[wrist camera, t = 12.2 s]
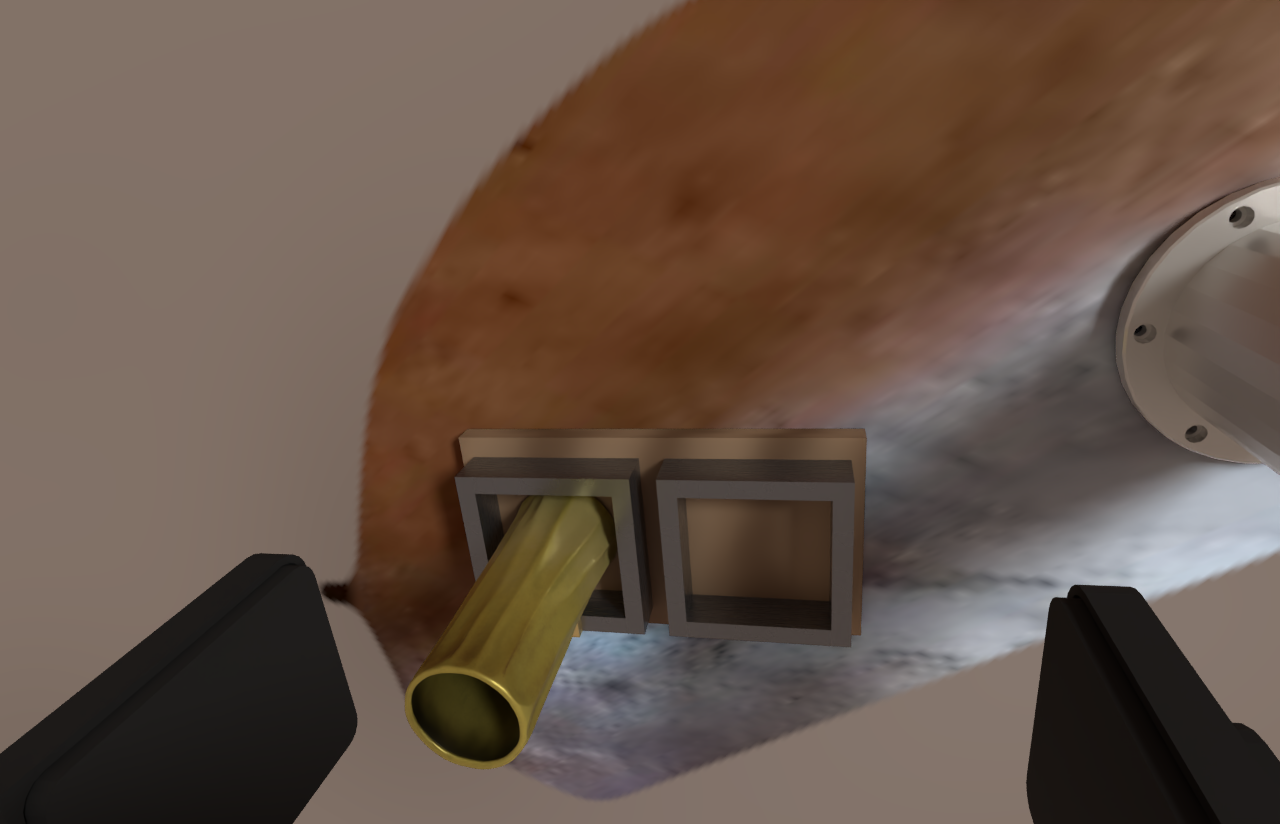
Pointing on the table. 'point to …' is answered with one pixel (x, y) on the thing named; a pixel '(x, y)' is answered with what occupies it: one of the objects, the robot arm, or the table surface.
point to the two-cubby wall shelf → (678, 538)
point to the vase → (511, 633)
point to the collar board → (712, 506)
